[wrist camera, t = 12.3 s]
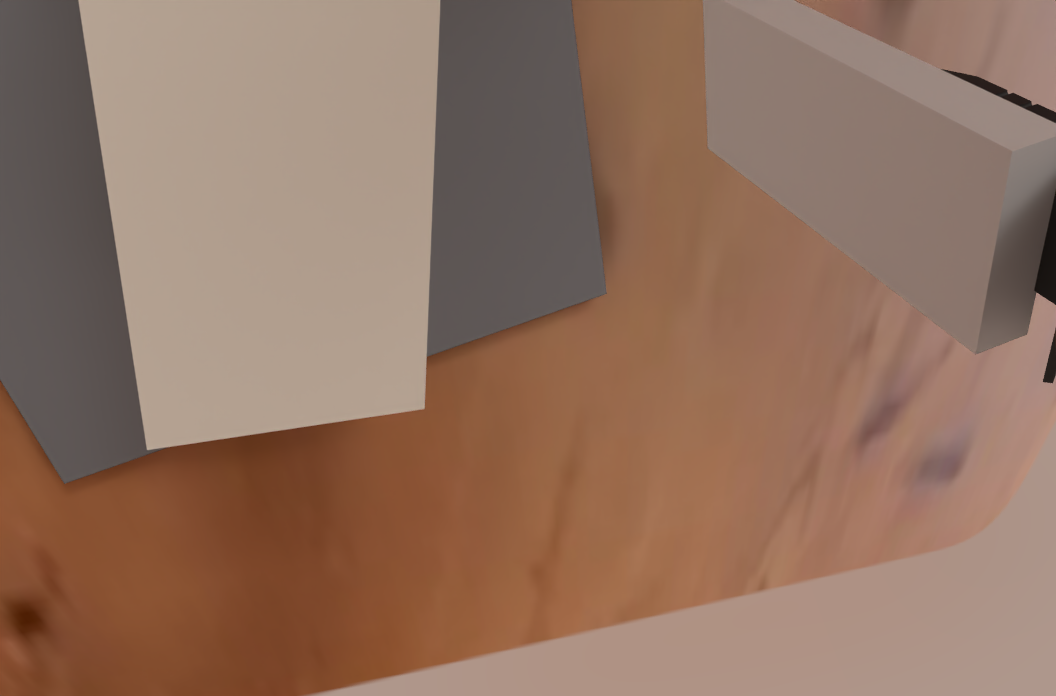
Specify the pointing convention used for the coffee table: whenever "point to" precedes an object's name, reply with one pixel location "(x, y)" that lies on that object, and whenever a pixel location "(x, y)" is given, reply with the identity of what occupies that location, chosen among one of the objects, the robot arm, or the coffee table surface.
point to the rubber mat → (457, 211)
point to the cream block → (269, 205)
